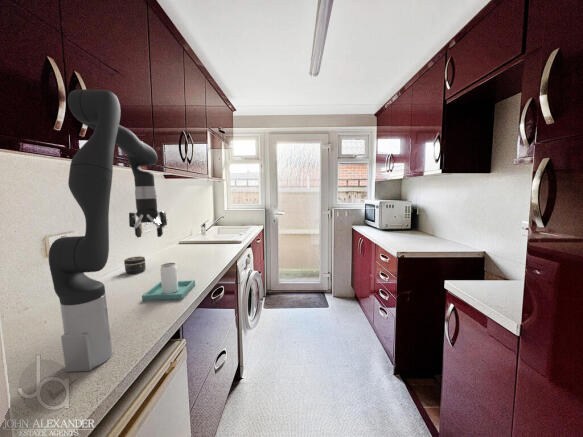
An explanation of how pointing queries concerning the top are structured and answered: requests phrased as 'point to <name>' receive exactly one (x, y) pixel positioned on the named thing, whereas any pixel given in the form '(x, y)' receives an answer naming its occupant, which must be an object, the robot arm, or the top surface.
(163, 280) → the can
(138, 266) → the jar
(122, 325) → the top surface
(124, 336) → the top surface
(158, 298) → the tray
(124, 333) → the top surface
